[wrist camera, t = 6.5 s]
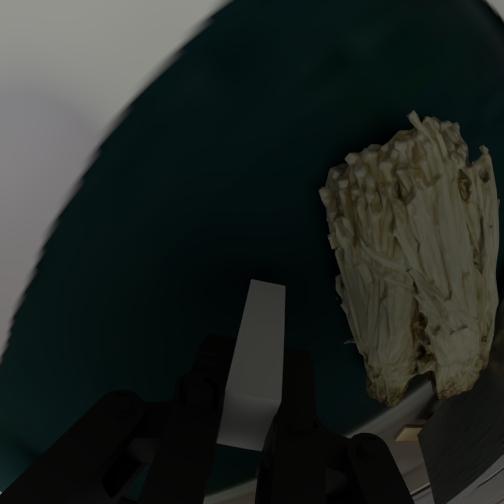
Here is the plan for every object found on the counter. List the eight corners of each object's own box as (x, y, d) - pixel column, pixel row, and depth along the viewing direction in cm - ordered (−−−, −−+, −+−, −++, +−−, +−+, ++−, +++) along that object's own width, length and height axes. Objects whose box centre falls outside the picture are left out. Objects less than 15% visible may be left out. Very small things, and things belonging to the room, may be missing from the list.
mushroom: (485, 324, 16) (523, 375, 11) (356, 372, 19) (369, 439, 14) (459, 95, 12) (524, 90, 7) (284, 142, 14) (284, 149, 9)
